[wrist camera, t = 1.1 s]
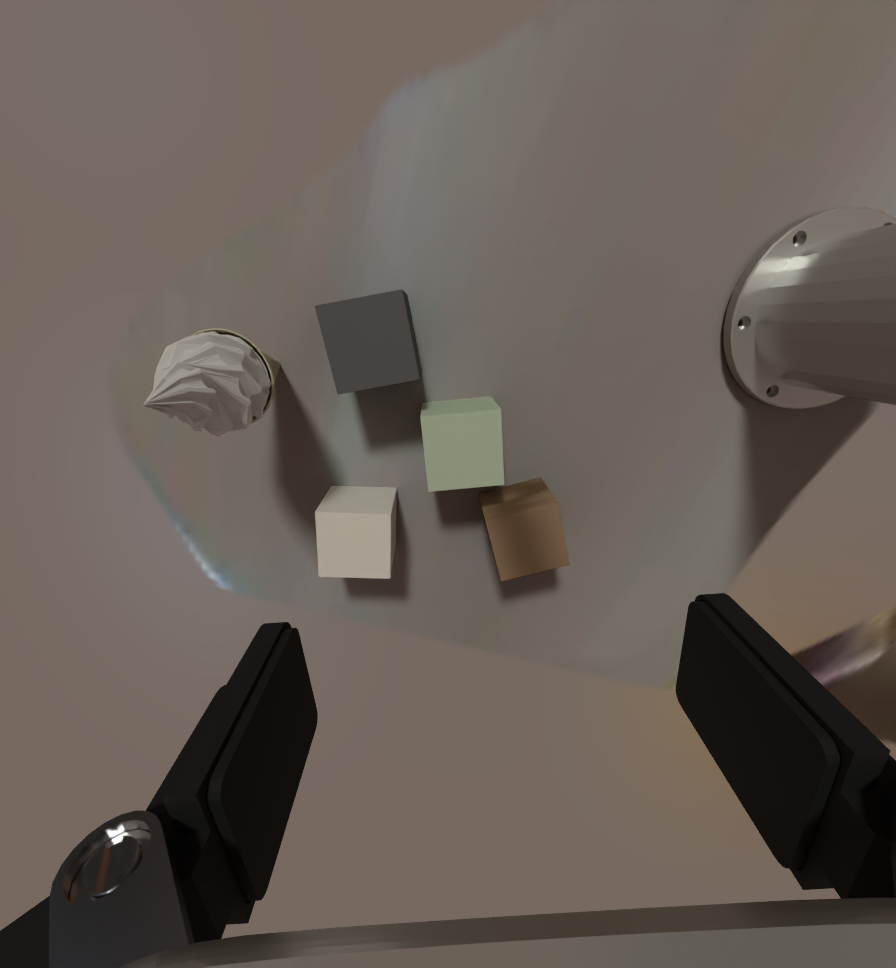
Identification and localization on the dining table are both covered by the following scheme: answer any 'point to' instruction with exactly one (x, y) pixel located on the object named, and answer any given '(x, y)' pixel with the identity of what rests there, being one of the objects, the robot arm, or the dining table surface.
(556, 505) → the walnut block
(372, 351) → the black block
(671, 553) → the dining table surface
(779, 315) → the robot arm
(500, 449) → the sage block
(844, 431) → the dining table surface
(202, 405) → the ice cream cone
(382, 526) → the offwhite block
